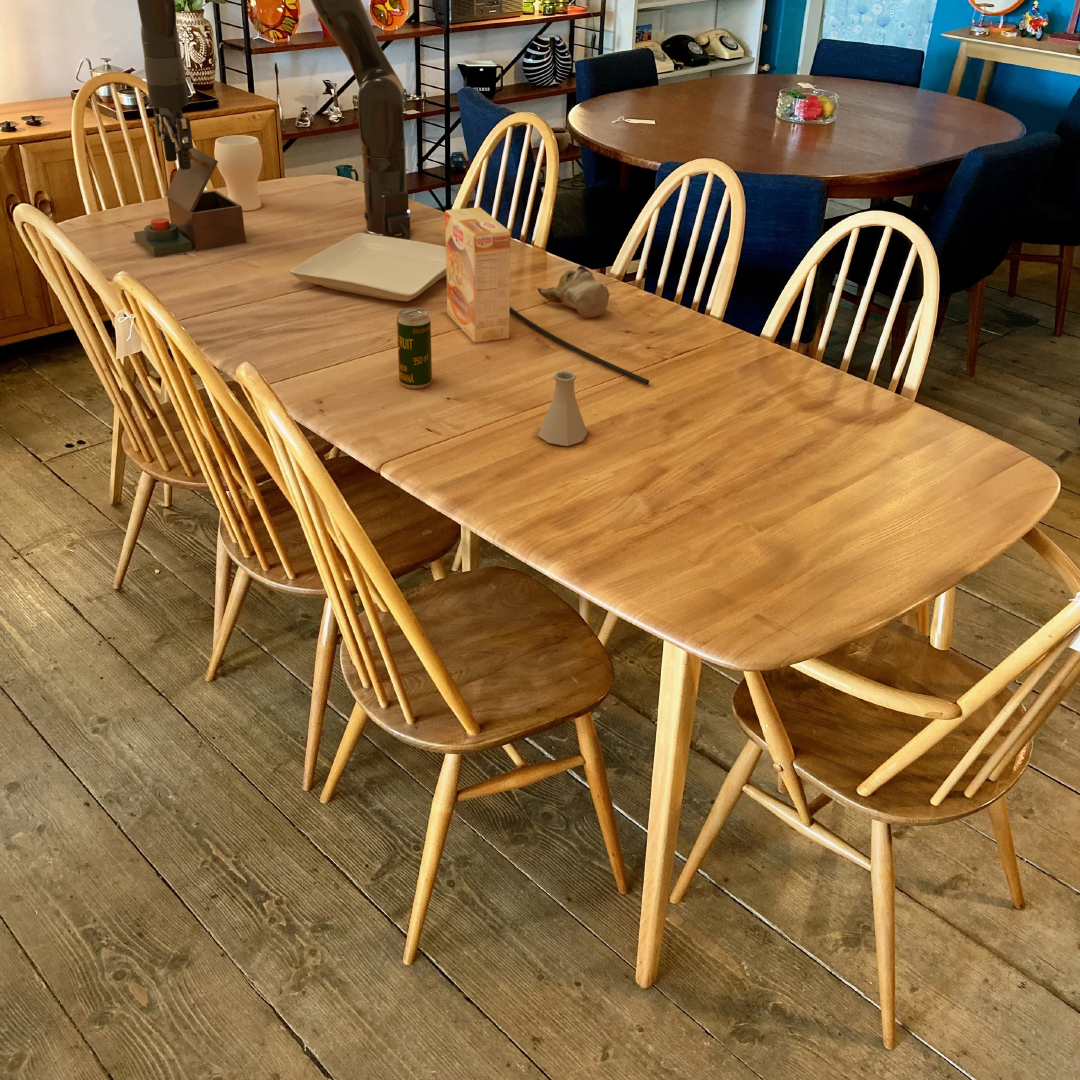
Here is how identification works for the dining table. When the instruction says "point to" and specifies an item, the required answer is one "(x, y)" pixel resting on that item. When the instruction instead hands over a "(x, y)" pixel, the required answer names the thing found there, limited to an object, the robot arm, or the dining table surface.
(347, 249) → the square plate
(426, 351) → the green soda can
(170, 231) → the green button base
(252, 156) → the cup
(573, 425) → the flask
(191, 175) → the chest lid
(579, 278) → the ceramic sculpture
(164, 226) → the button
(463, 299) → the coffeecake box
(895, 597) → the dining table surface
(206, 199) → the chest
